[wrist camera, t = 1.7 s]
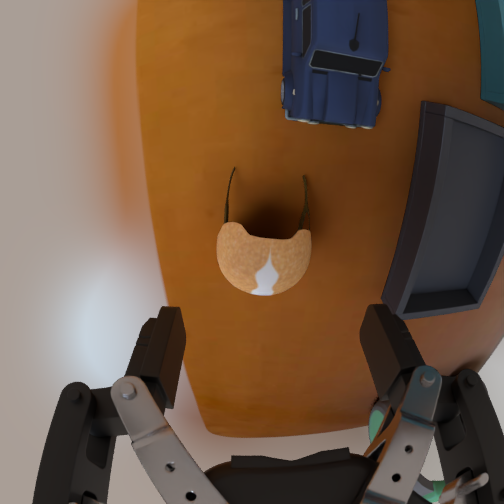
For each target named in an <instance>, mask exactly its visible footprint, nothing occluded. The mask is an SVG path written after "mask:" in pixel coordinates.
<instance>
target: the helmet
mask: <svg viewBox="0 0 504 504" xmlns="http://www.w3.org/2000/svg"><path fill="white" fill-rule="evenodd" d="M234 171H235V167H234V169H233V171H232V174H231V177H230V181H229V186H228V192H227V198H226V204H225V215H224V225H223V226H222V228H221V230H220V232H219V234H218V237H217V261H218V264H219V266H220V269H221V271H222V273H223V274H224V276H225V277H226V279H227V280H228V281H229V282H230V283H231V284H232V285H234V286H235V287H237V288H239V289H240V290H242V291H245V292H248V293H250V294H256V295H273V294H278V293H281V292H283V291H285V290H288V289H289V288H291V287H292V286H293V285H295V284H296V283H297V282H298V281H299V280H300V279H301V278H302V276H303V275H304V273H305V271H306V269H307V268H308V264H309V260H310V256H311V249H312V245H311V232H310V221H309V230H305V229H303V230H302V226H303V222H304V218H305V214H306V212H307V213H308V216H309V208H308V201H307V184H306V179H305V175H303V176H302V177H303V181H304V187H305V206H304V210H303V213H302V216H301V219H300V223H299V227H298V231H297V232H296V233H295V234H294V236H293V237H292V238H291V239H284V240H281V239H269V238H260V237H256V236H252V235H249V234H248V233H247V231H246V230H245V229H244V227H243V226H242V225H241V224H238V223H235V222H228V213H229V206H228V196H229V188H230V183H231V179H232V176H233V173H234Z"/></svg>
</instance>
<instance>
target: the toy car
mask: <svg viewBox="0 0 504 504" xmlns="http://www.w3.org/2000/svg"><path fill="white" fill-rule="evenodd" d="M387 57H388V11H387V0H283V76H284V77H285V78H283V80H282V85H281V102H282V105H283V107H282V108H283V109H285V117H286V119H287V120H293V121H300V122H307V123H309V124H318V123H319V124H329V125H339V126H343V125H345V126H346V127H348V128H356V127H362V128H365V129H372V128H373V127H374V126H375V123H376V116H377V115H378V114H379V112H380V109H381V93H380V90H379V88H378V87H379V76H380V73H381V71H382V70H383V71H385V72H389V71H390V70H391V69H390V68H386V67H383V66H384V64H385V62H386V60H387Z"/></svg>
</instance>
